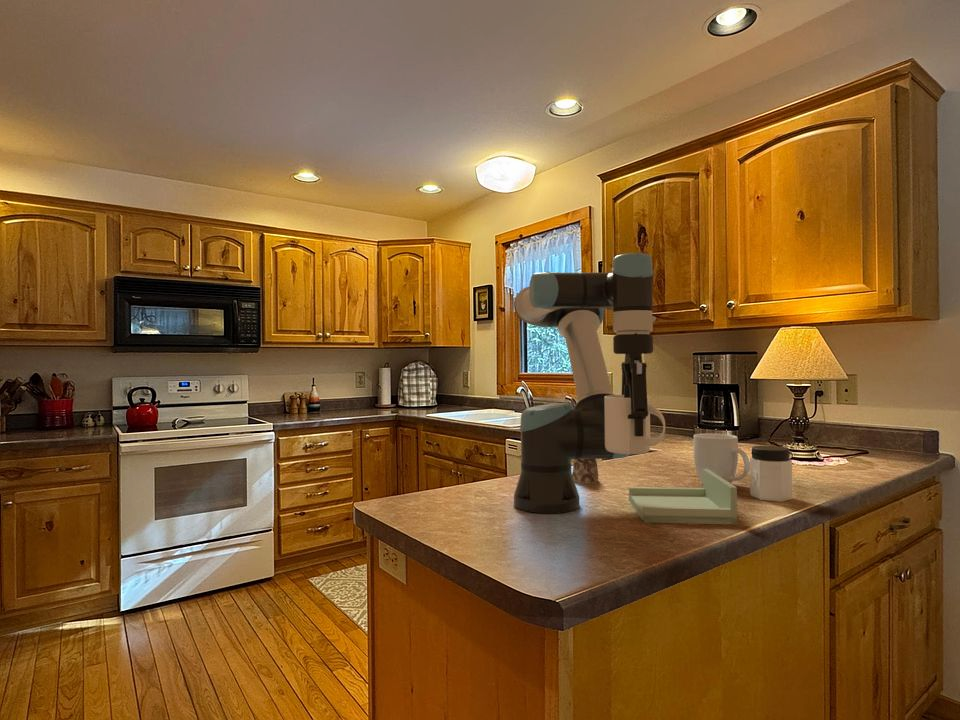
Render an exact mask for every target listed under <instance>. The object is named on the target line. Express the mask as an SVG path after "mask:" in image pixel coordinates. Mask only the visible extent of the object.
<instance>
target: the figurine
mask: <svg viewBox="0 0 960 720" xmlns="http://www.w3.org/2000/svg"><path fill="white" fill-rule="evenodd" d="M572 476H573V479H574V482H575V484H579V485H580V484H581V485H594V484H597V483H598V482H599V471H598V462H597V459H573V465H572Z"/></svg>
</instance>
